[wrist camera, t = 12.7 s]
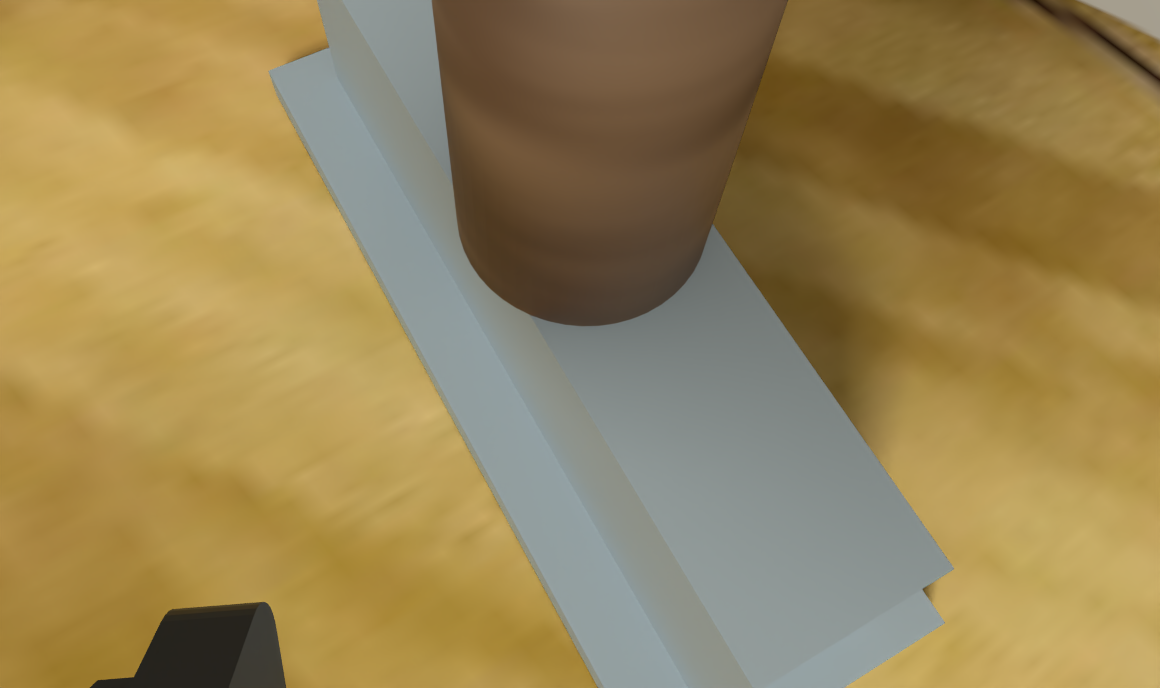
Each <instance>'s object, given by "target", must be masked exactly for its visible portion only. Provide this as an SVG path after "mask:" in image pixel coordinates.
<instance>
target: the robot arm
mask: <svg viewBox="0 0 1160 688" xmlns="http://www.w3.org/2000/svg"><path fill="white" fill-rule="evenodd" d="M90 688H286V684H285V678H284V672H283V666H282V660H281V654H280V648H279V642H278V636H277V630H276V624H275V620H274V616H273V613H272V610H271V608H270V606H269V605H268V604H267V603H266V602H258V603H245V604H233V605H220V606H207V607H195V608H182V609H172V610H170V611H169V612H168V613H167V614H166V615H165V616H164V618H163V620H162V621H161V623H160V625H159V627H158V629H157V631H156V633H155V635H154V637H153V640H152V642H151V644H150V646H149V648H148V650H147V652H146V654H145V656H144V658H143V660H142V662H141V664H140V666H139V668H138V670H137V672H136V674H135V676H134V677H132V678H120V679H108V680H98V681H97V682H95V683H94V684H93V685H92V686H91V687H90Z"/></svg>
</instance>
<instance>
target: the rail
mask: <svg viewBox="0 0 1160 688" xmlns="http://www.w3.org/2000/svg"><path fill="white" fill-rule="evenodd" d="M317 2H318V6H319V10H320V13H321V17H322V21H323V25H324V29H325V33H326V36H327V40H328V44H329V48H327V49H324V50H321V51H319V52H316V53H314V54H311V55H308V56H306V57H303V58H301V59H298V60H295V61H293V62H290V63H288V64H285V65H283V66H280V67H277V68H275V69H272V70H270V71H269V74H270V77H271V80H272V83H273V85H274V88H275V91H276V94H277V96H278V98H279V100H280V102H281V104H282V105H283V107H284V109H285V111H286V113H287V115H288V116H289V118H290V120H291V122H292V124H293V126H294V128H295V129H296V131H297V133H298V135H299V137H300V139H301V140H302V142H303V144H304V146H305V148H306V150H307V152H308V153H309V155H310V157H311V159H312V161H313V163H314V164H315V166H316V168H317V170H318V172H319V174H320V176H321V177H322V179H323V181H324V183H325V185H326V187H327V188H328V190H329V192H330V194H331V196H332V198H333V200H334V201H335V203H336V205H337V207H338V209H339V211H340V212H341V214H342V216H343V218H344V220H345V222H346V223H347V225H348V227H349V229H350V231H351V233H352V235H353V236H354V238H355V240H356V242H357V244H358V246H359V247H360V249H361V251H362V253H363V255H364V257H365V259H366V260H367V262H368V264H369V266H370V268H371V270H372V271H373V273H374V275H375V277H376V279H377V281H378V283H379V284H380V286H381V288H382V290H383V292H384V294H385V295H386V297H387V299H388V301H389V303H390V305H391V307H392V308H393V310H394V312H395V314H396V316H397V318H398V319H399V321H400V323H401V325H402V327H403V329H404V330H405V332H406V334H407V336H408V338H409V340H410V342H411V343H412V345H413V347H414V349H415V351H416V353H417V354H418V356H419V358H420V360H421V362H422V364H423V366H424V367H425V369H426V371H427V373H428V375H429V377H430V378H431V380H432V382H433V384H434V386H435V388H436V390H437V391H438V393H439V395H440V397H441V399H442V401H443V402H444V404H445V406H446V408H447V410H448V412H449V414H450V415H451V417H452V419H453V421H454V423H455V425H456V426H457V428H458V430H459V432H460V434H461V436H462V438H463V439H464V441H465V443H466V445H467V447H468V449H469V450H470V452H471V454H472V456H473V458H474V460H475V461H476V463H477V465H478V467H479V469H480V471H481V473H482V474H483V476H484V478H485V480H486V482H487V484H488V485H489V487H490V489H491V491H492V493H493V495H494V497H495V498H496V500H497V502H498V504H499V506H500V508H501V509H502V511H503V513H504V515H505V517H506V519H507V521H508V522H509V524H510V526H511V528H512V530H513V532H514V533H515V535H516V537H517V539H518V541H519V543H520V545H521V546H522V548H523V550H524V552H525V554H526V556H527V557H528V559H529V561H530V563H531V565H532V567H533V568H534V570H535V572H536V574H537V576H538V578H539V580H540V581H541V583H542V585H543V587H544V589H545V591H546V592H547V594H548V596H549V598H550V600H551V602H552V604H553V605H554V607H555V609H556V611H557V613H558V615H559V616H560V618H561V620H562V622H563V624H564V626H565V628H566V629H567V631H568V633H569V635H570V637H571V639H572V640H573V642H574V644H575V646H576V648H577V650H578V652H579V653H580V655H581V657H582V659H583V661H584V663H585V664H586V666H587V668H588V670H589V672H590V674H591V676H592V677H593V679H594V681H595V683H596V685H597V687H598V688H844V687H846V686H847V685H849V684H851V683H852V682H854V681H855V680H857V679H858V678H860V677H861V676H863V675H865V674H866V673H868V672H869V671H871V670H872V669H874V668H875V667H877V666H879V665H880V664H882V663H883V662H885V661H886V660H888V659H890V658H891V657H893V656H894V655H896V654H897V653H899V652H900V651H902V650H904V649H905V648H907V647H908V646H910V645H911V644H913V643H915V642H916V641H918V640H919V639H921V638H922V637H924V636H925V635H927V634H929V633H930V632H932V631H933V630H935V629H936V628H938V627H939V626H941V625H943V624H944V623H945V622H944V621H943V619H942V618H941V616H940V615H939V613H938V612H937V610H936V609H935V608H934V606H933V605H932V603H931V602H930V600H929V599H928V597H927V596H926V594H925V593H924V591H923V590H922V589H923V588H925V587H926V586H928V585H929V584H931V583H933V582H934V581H936V580H937V579H939V578H941V577H942V576H944V575H945V574H947V573H949V572H950V571H952V570H953V569H954V568H953V566H952V565H951V563H950V562H949V561H948V559H947V558H946V556H945V555H944V553H943V552H942V551H941V549H940V548H939V546H938V545H937V543H936V542H935V541H934V539H933V538H932V536H931V535H930V533H929V532H928V531H927V529H926V528H925V526H924V525H923V523H922V522H921V521H920V519H919V518H918V516H917V515H916V513H915V512H914V511H913V509H912V508H911V506H910V505H909V503H908V502H907V501H906V499H905V498H904V496H903V495H902V493H901V492H900V491H899V489H898V488H897V486H896V485H895V483H894V482H893V481H892V479H891V478H890V476H889V475H888V474H887V472H886V471H885V469H884V468H883V466H882V465H881V464H880V462H879V461H878V459H877V458H876V456H875V455H874V454H873V452H872V451H871V449H870V448H869V446H868V445H867V444H866V442H865V441H864V439H863V438H862V436H861V435H860V434H859V432H858V431H857V429H856V428H855V426H854V425H853V424H852V422H851V421H850V419H849V418H848V416H847V415H846V414H845V412H844V411H843V409H842V408H841V406H840V405H839V404H838V402H837V401H836V399H835V398H834V396H833V395H832V394H831V392H830V391H829V389H828V388H827V386H826V385H825V384H824V382H823V381H822V379H821V378H820V376H819V375H818V374H817V372H816V371H815V369H814V368H813V366H812V365H811V364H810V362H809V361H808V359H807V358H806V356H805V355H804V354H803V352H802V351H801V349H800V348H799V346H798V345H797V344H796V342H795V341H794V339H793V338H792V336H791V335H790V334H789V332H788V331H787V329H786V328H785V326H784V325H783V324H782V322H781V321H780V319H779V318H778V317H777V315H776V314H775V312H774V311H773V309H772V308H771V307H770V305H769V304H768V302H767V301H766V299H765V298H764V297H763V295H762V294H761V292H760V291H759V289H758V288H757V287H756V285H755V284H754V282H753V281H752V279H751V278H750V277H749V275H748V274H747V272H746V271H745V269H744V268H743V267H742V265H741V264H740V262H739V261H738V259H737V258H736V257H735V255H734V254H733V252H732V251H731V249H730V248H729V247H728V245H727V244H726V242H725V241H724V239H723V238H722V237H721V235H720V234H719V232H718V231H717V229H716V228H715V227H714V225H713V224H712V226H711V229H710V232H709V235H708V238H707V241H706V244H705V247H704V250H703V253H702V256H701V259H700V260H699V262H698V264H697V266H696V268H695V270H694V272H693V273H692V275H691V276H690V277H689V279H688V280H687V281H686V283H685V284H684V285H683V286H682V287H681V288H680V289H679V290H678V291H677V292H676V293H675V294H674V295H673V296H672V297H671V298H669V299H668V300H667V301H665V302H664V303H663V304H661V305H660V306H658V307H656V308H655V309H653V310H651V311H649V312H648V313H645V314H643V315H640V316H638V317H636V318H633V319H630V320H626V321H623V322H619V323H615V324H608V325H602V326H573V325H564V324H559V323H554V322H549V321H546V320H543V319H540V318H537V317H534V316H531V315H529V314H527V313H525V312H523V311H521V310H519V309H517V308H515V307H514V306H512V305H511V304H509V303H507V302H506V301H504V300H503V299H502V298H500V297H499V296H498V295H497V294H496V293H494V292H493V291H492V290H491V289H490V288H489V287H488V286H487V285H486V284H485V283H484V282H483V281H482V279H481V278H480V277H479V276H478V274H477V273H476V271H475V270H474V268H473V267H472V266H471V264H470V262H469V260H468V258H467V256H466V254H465V252H464V249H463V246H462V243H461V240H460V237H459V231H458V225H457V217H456V209H455V200H454V191H453V183H452V174H451V165H450V157H449V148H448V139H447V130H446V122H445V113H444V104H443V96H442V87H441V78H440V69H439V61H438V52H437V43H436V35H435V26H434V17H433V8H432V0H317Z"/></svg>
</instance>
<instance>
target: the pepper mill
mask: <svg viewBox="0 0 1160 688" xmlns="http://www.w3.org/2000/svg"><path fill="white" fill-rule="evenodd" d="M787 1H788V0H432V8H433V17H434V26H435V35H436V43H437V52H438V61H439V69H440V78H441V87H442V96H443V104H444V113H445V122H446V130H447V139H448V148H449V157H450V165H451V174H452V183H453V191H454V200H455V209H456V217H457V225H458V231H459V237H460V240H461V243H462V246H463V249H464V252H465V254H466V256H467V258H468V260H469V262H470V264H471V266H472V267H473V268H474V270H475V271H476V273H477V274H478V276H479V277H480V278H481V279H482V281H483V282H484V283H485V284H486V285H487V286H488V287H489V288H490V289H491V290H492V291H493V292H494V293H496V294H497V295H498V296H499V297H500V298H502V299H503V300H504V301H506V302H507V303H509V304H511V305H512V306H514V307H515V308H517V309H519V310H521V311H523V312H525V313H527V314H529V315H531V316H534V317H537V318H540V319H543V320H546V321H549V322H554V323H559V324H564V325H573V326H602V325H608V324H615V323H619V322H623V321H626V320H630V319H633V318H636V317H638V316H640V315H643V314H645V313H648V312H649V311H651V310H653V309H655V308H656V307H658V306H660V305H661V304H663V303H664V302H665V301H667V300H668V299H669V298H671V297H672V296H673V295H674V294H675V293H676V292H677V291H678V290H679V289H680V288H681V287H682V286H683V285H684V284H685V283H686V281H687V280H688V279H689V277H690V276H691V275H692V273H693V272H694V270H695V268H696V266H697V264H698V262H699V260H700V259H701V256H702V253H703V250H704V247H705V244H706V241H707V238H708V235H709V232H710V229H711V226H712V223H713V220H714V217H715V214H716V211H717V208H718V205H719V202H720V200H721V197H722V194H723V191H724V188H725V185H726V182H727V179H728V176H729V173H730V170H731V167H732V164H733V161H734V158H735V155H736V152H737V149H738V146H739V143H740V140H741V137H742V134H743V131H744V128H745V126H746V123H747V120H748V117H749V114H750V111H751V108H752V105H753V102H754V99H755V96H756V93H757V90H758V87H759V84H760V81H761V78H762V75H763V72H764V69H765V66H766V63H767V60H768V57H769V55H770V52H771V49H772V46H773V43H774V40H775V37H776V34H777V31H778V28H779V25H780V22H781V19H782V16H783V13H784V10H785V7H786V4H787Z"/></svg>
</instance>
